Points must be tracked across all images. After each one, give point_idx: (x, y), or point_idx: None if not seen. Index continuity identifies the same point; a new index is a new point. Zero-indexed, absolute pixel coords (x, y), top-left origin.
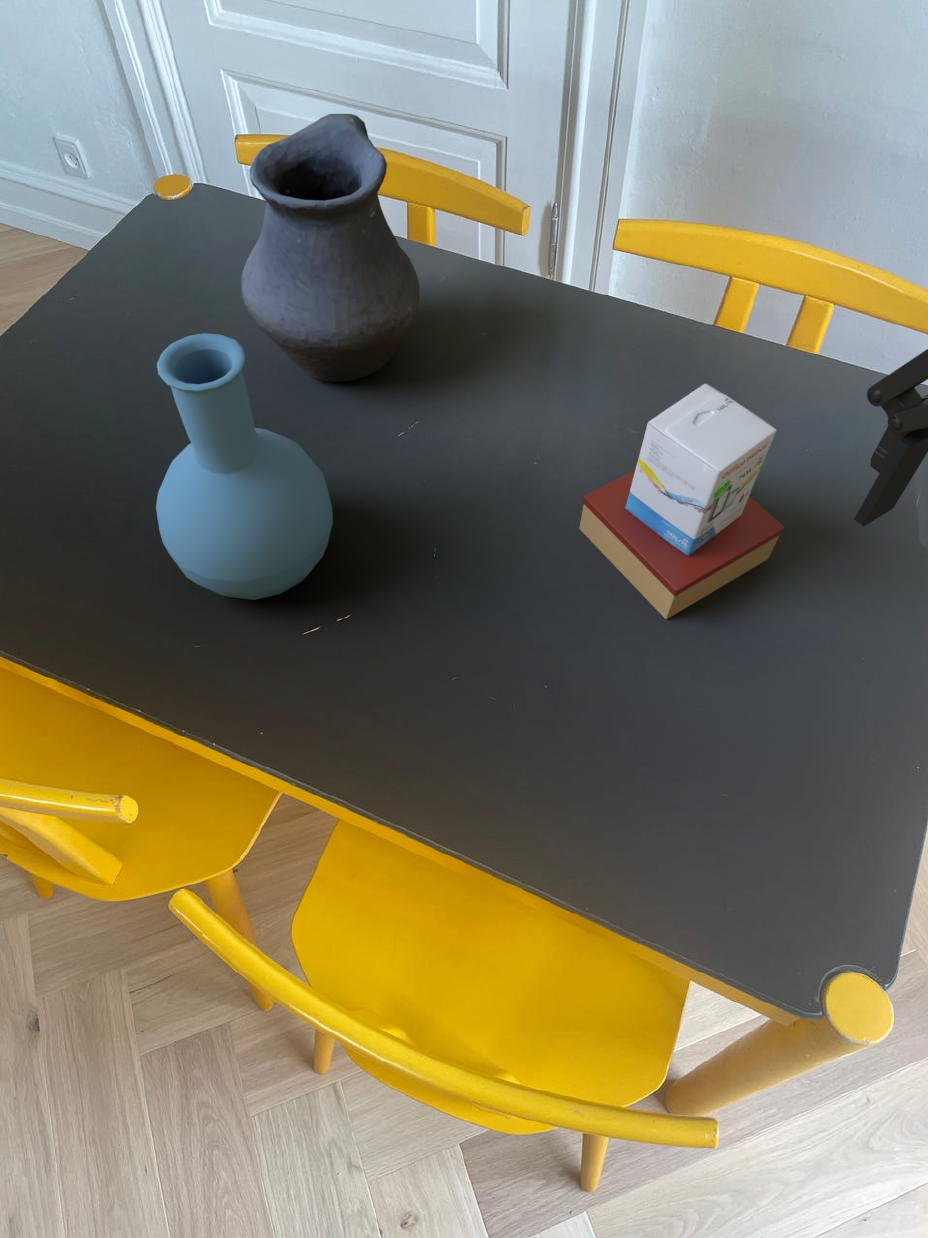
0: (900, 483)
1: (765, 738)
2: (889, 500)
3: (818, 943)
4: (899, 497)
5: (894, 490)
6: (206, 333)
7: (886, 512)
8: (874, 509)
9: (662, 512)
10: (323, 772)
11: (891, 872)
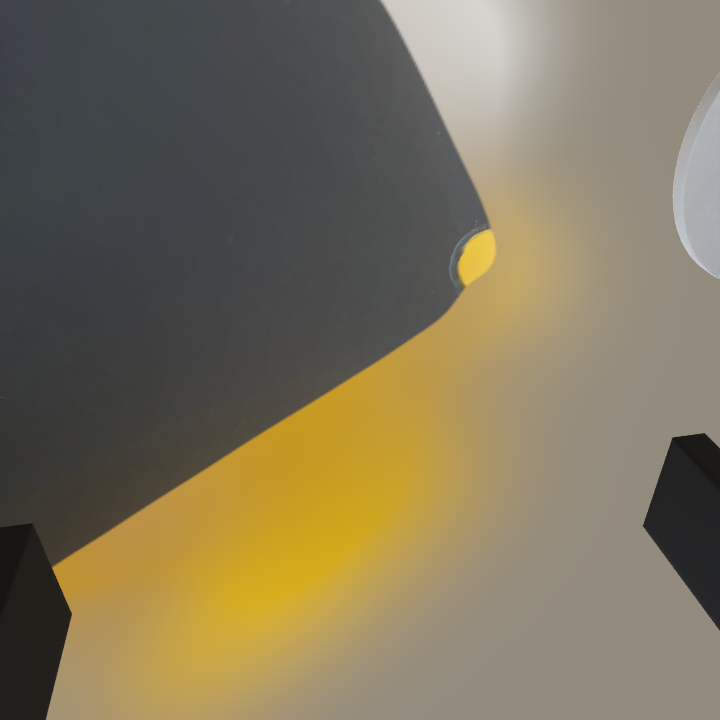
0: (6, 713)
1: (181, 131)
2: (32, 637)
3: (425, 255)
4: (18, 575)
5: (19, 693)
6: None
7: (42, 547)
8: (53, 678)
9: None
10: None
11: (421, 118)
